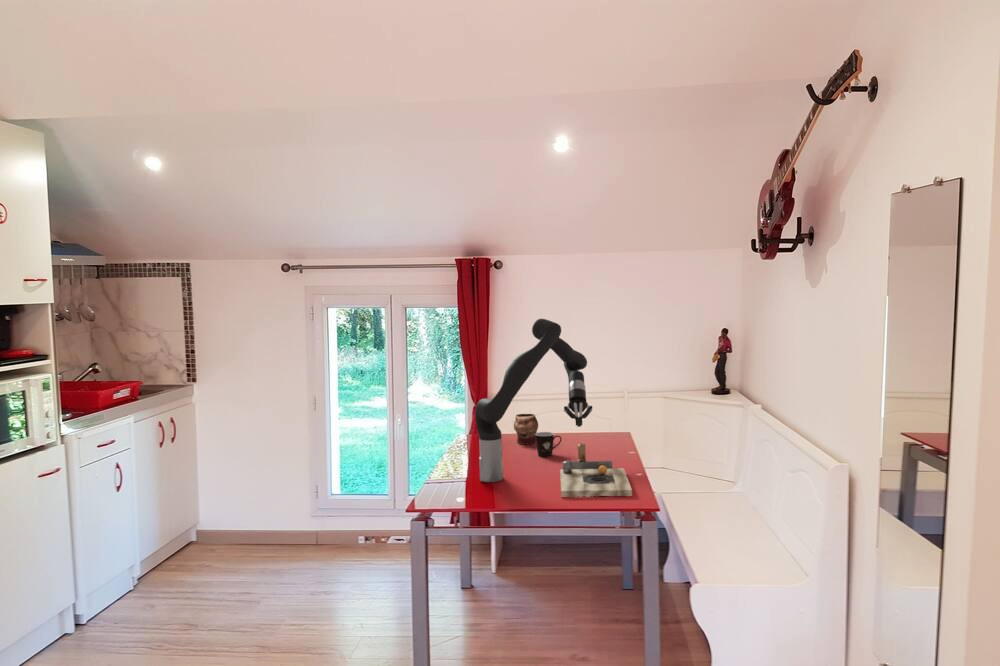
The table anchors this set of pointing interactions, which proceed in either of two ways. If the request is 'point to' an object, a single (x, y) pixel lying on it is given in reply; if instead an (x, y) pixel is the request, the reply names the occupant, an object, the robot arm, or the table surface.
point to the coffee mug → (545, 443)
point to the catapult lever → (583, 462)
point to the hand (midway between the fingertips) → (579, 425)
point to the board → (595, 483)
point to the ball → (602, 469)
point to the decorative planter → (526, 428)
